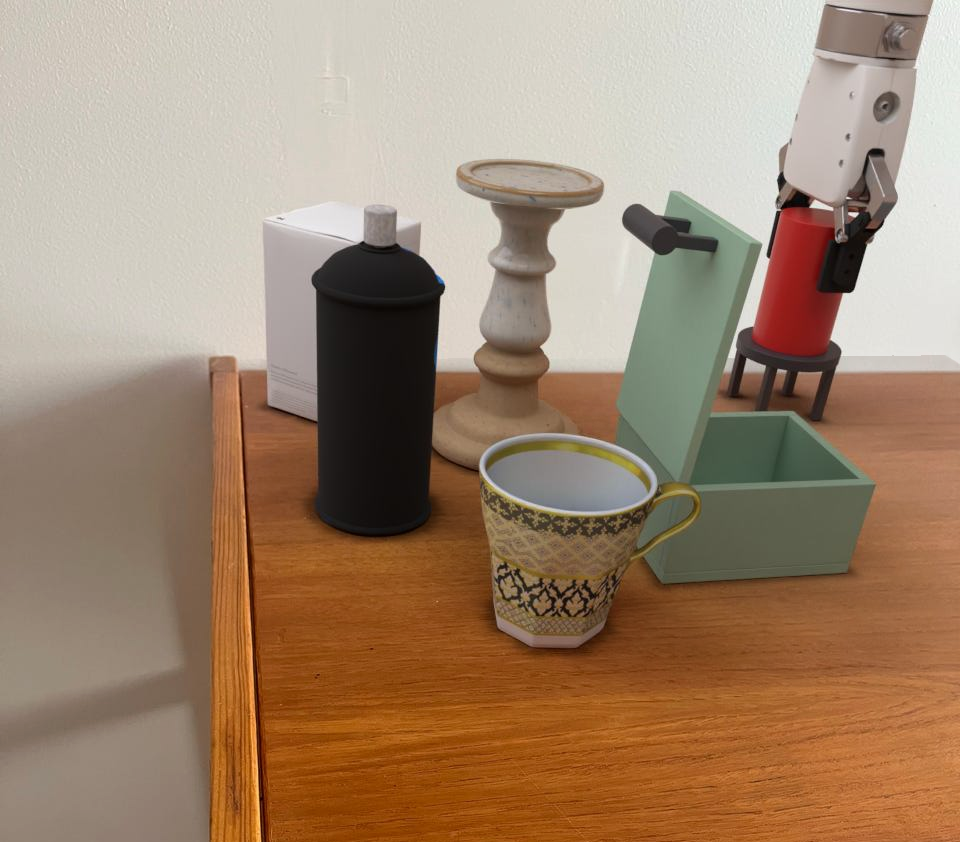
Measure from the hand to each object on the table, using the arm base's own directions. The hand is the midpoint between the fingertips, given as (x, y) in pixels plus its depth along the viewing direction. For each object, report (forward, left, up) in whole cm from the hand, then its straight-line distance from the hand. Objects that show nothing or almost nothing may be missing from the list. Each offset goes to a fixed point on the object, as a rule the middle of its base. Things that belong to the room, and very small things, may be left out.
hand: (807, 274), depth 87 cm
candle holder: (+27, +6, -12) cm, 30 cm away
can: (0, 0, -6) cm, 6 cm away
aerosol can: (+39, +16, -12) cm, 44 cm away
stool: (0, 0, -12) cm, 12 cm away
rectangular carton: (+39, -2, -12) cm, 41 cm away
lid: (+21, +22, +3) cm, 30 cm away
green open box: (+15, +22, -12) cm, 29 cm away
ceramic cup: (+29, +31, -12) cm, 44 cm away
